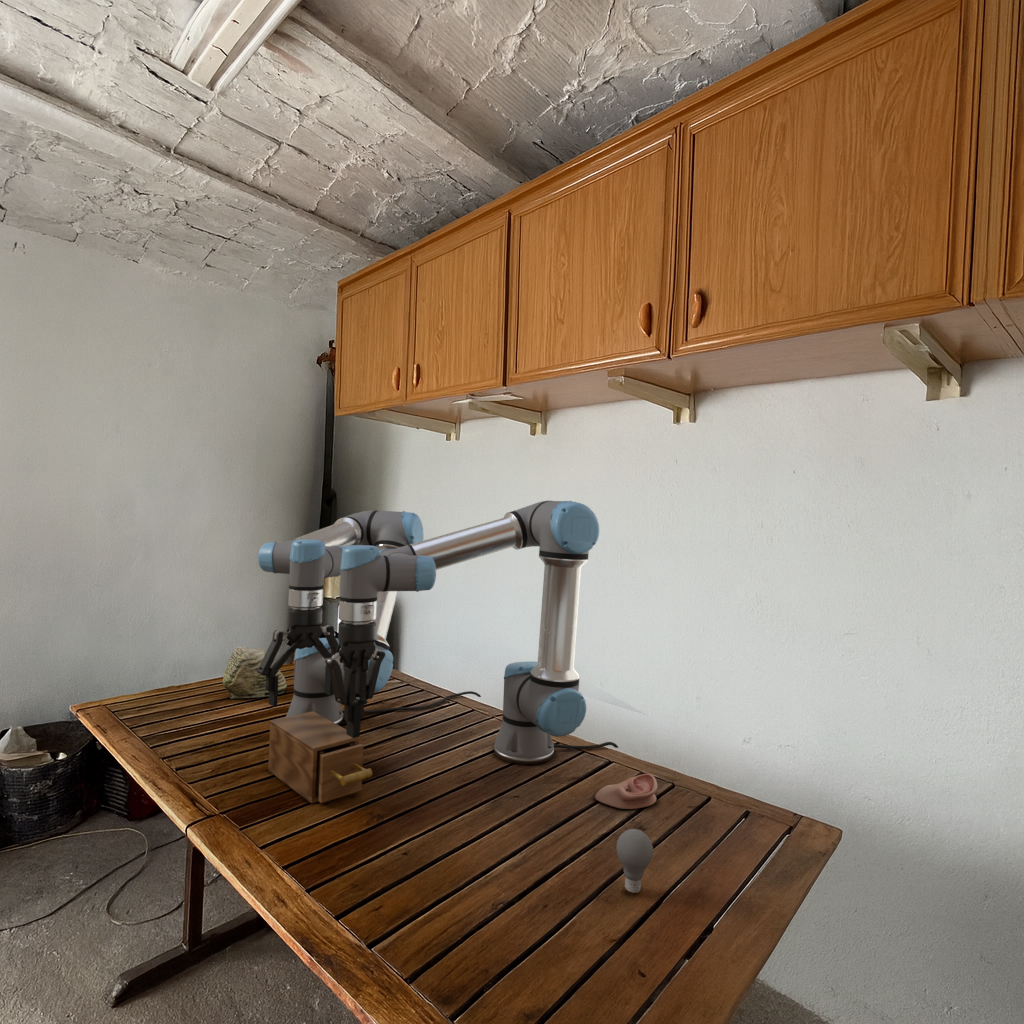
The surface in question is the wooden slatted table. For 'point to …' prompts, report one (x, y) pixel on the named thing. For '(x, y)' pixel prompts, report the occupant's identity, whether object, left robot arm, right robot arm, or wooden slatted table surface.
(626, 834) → the light bulb
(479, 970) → the wooden slatted table surface
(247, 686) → the fossil
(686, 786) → the wooden slatted table surface
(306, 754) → the cabinet
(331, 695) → the left robot arm
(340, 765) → the drawer
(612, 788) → the anatomical model
